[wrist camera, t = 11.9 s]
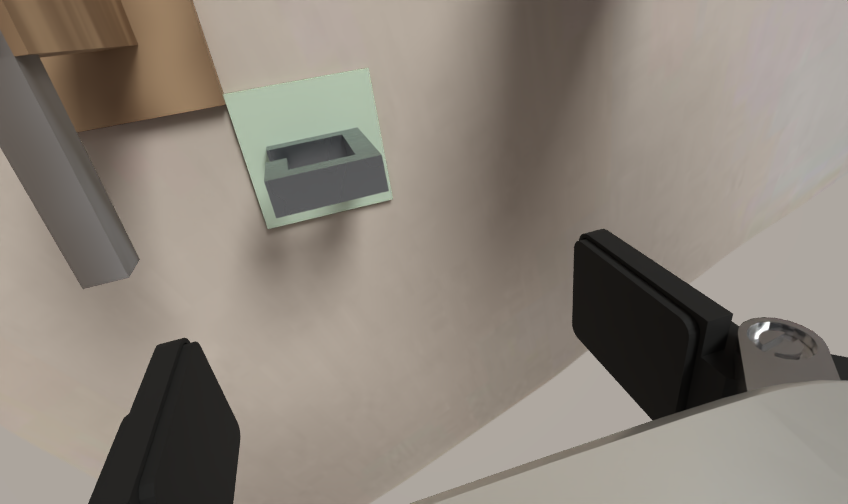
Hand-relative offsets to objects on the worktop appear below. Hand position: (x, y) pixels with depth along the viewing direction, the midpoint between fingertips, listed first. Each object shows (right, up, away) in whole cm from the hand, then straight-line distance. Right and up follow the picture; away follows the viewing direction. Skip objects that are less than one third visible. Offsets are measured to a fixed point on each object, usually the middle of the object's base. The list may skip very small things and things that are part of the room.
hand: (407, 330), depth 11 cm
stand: (-16, +12, +15) cm, 25 cm away
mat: (-7, +9, +20) cm, 23 cm away
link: (-7, +9, +19) cm, 22 cm away
